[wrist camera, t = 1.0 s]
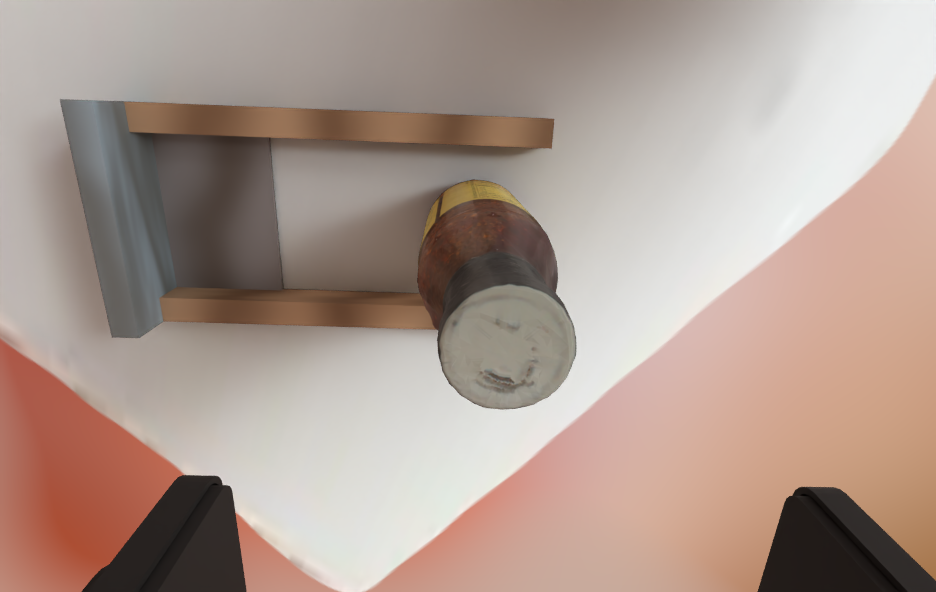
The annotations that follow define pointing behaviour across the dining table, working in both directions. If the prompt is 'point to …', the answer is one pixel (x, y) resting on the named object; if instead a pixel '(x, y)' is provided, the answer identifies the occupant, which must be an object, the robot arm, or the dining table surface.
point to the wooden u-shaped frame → (229, 208)
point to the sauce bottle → (494, 298)
